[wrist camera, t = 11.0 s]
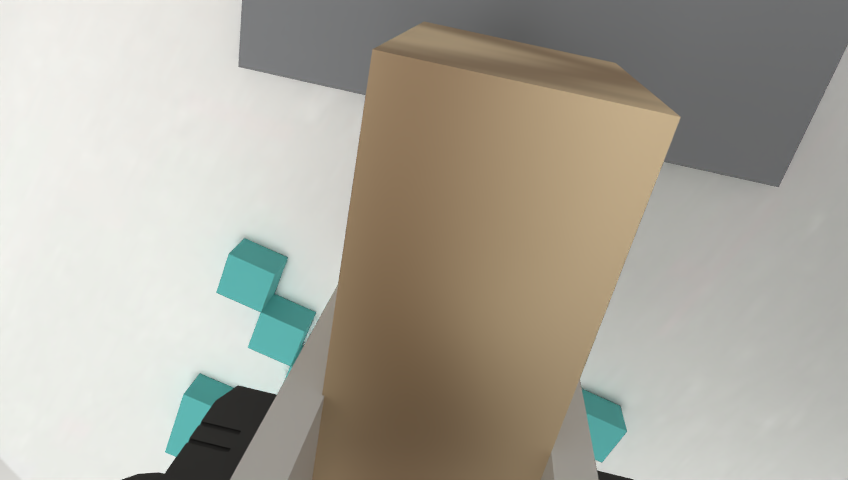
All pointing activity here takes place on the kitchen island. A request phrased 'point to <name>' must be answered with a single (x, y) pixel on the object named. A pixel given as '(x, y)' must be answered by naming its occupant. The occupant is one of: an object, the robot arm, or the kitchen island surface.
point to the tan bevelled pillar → (479, 252)
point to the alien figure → (282, 340)
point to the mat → (604, 58)
